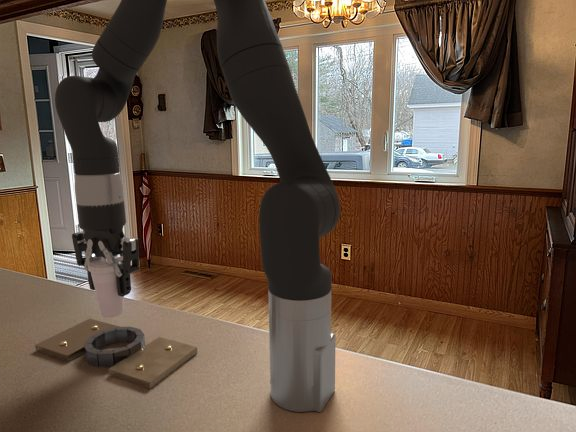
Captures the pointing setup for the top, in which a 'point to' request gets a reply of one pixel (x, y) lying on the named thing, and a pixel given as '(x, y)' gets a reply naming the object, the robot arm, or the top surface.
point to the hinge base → (119, 351)
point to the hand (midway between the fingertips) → (110, 291)
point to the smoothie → (106, 287)
